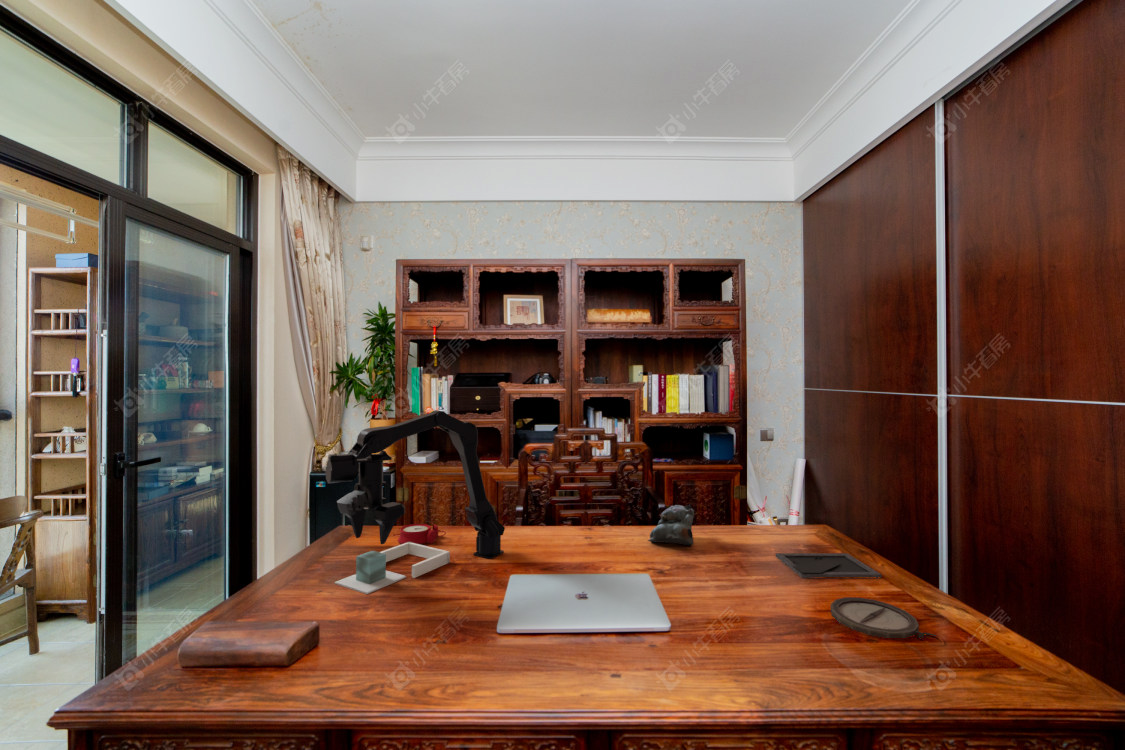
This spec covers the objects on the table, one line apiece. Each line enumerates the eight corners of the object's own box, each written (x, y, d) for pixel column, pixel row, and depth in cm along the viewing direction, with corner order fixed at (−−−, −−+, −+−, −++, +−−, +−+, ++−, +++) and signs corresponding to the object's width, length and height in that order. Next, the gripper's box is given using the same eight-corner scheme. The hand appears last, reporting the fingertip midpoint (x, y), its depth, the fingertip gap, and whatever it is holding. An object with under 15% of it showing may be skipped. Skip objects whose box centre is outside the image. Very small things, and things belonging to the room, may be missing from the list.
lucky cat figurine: (640, 541, 166) (647, 498, 172) (669, 551, 170) (675, 509, 176) (671, 540, 153) (678, 493, 159) (702, 551, 157) (707, 506, 163)
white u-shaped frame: (449, 562, 146) (449, 551, 146) (414, 577, 135) (414, 566, 135) (408, 552, 154) (408, 541, 154) (372, 565, 143) (372, 554, 143)
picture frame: (801, 580, 137) (881, 580, 137) (801, 572, 137) (881, 572, 137) (775, 558, 153) (847, 558, 153) (775, 551, 153) (847, 551, 153)
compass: (813, 606, 121) (813, 597, 121) (878, 603, 123) (878, 594, 123) (875, 652, 101) (875, 642, 101) (952, 648, 103) (952, 637, 103)
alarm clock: (398, 524, 170) (444, 513, 171) (403, 543, 170) (449, 532, 171) (390, 534, 160) (439, 522, 161) (395, 554, 160) (444, 542, 161)
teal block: (385, 577, 134) (385, 554, 134) (369, 584, 129) (369, 560, 129) (372, 573, 136) (372, 550, 136) (356, 580, 132) (356, 556, 132)
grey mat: (405, 577, 135) (405, 576, 135) (367, 594, 124) (367, 592, 124) (374, 568, 141) (374, 566, 141) (334, 583, 131) (334, 582, 131)
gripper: (318, 480, 130) (318, 543, 130) (369, 489, 121) (368, 557, 121) (356, 473, 140) (356, 531, 140) (406, 481, 130) (405, 543, 130)
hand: (370, 540), depth 133 cm, fingers open, 9 cm apart
